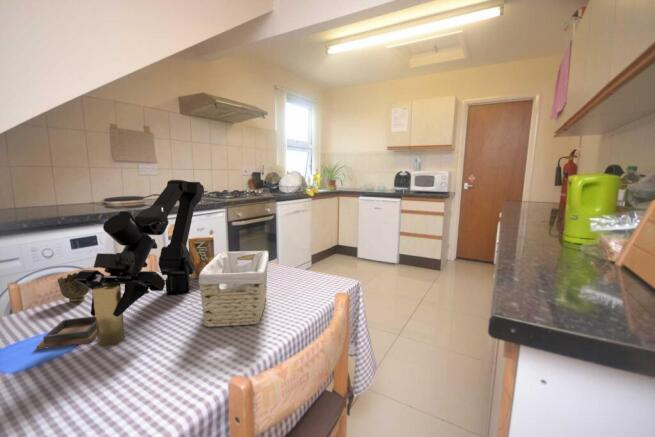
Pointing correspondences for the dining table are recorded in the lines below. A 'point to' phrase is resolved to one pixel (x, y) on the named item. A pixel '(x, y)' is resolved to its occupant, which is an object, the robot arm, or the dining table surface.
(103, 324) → the billet
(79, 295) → the cup
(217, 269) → the storage basket
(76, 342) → the square brown tray
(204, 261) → the candy box
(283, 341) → the dining table surface
